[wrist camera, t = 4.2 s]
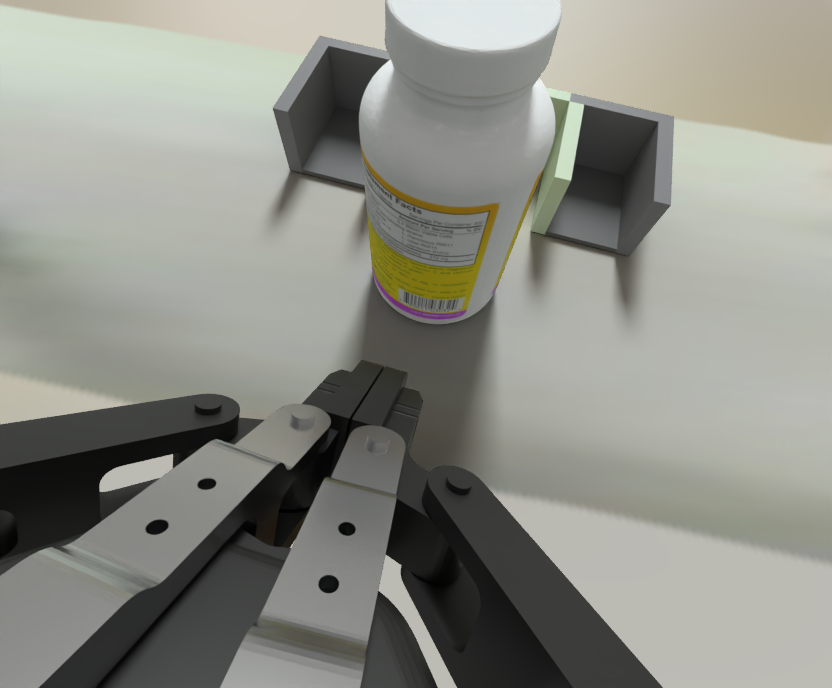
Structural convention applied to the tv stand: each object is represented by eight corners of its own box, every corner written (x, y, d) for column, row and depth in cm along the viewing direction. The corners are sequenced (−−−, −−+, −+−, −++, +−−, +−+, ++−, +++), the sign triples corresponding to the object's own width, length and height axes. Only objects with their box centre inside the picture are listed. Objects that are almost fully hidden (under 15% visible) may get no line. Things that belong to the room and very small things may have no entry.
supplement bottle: (448, 207, 25) (496, -88, 13) (521, 290, 23) (657, 25, 11) (347, 258, 23) (301, -33, 11) (417, 353, 21) (448, 115, 9)
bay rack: (290, 170, 25) (272, 108, 22) (329, 100, 28) (319, 35, 24) (628, 256, 24) (670, 205, 20) (635, 174, 27) (674, 116, 23)
